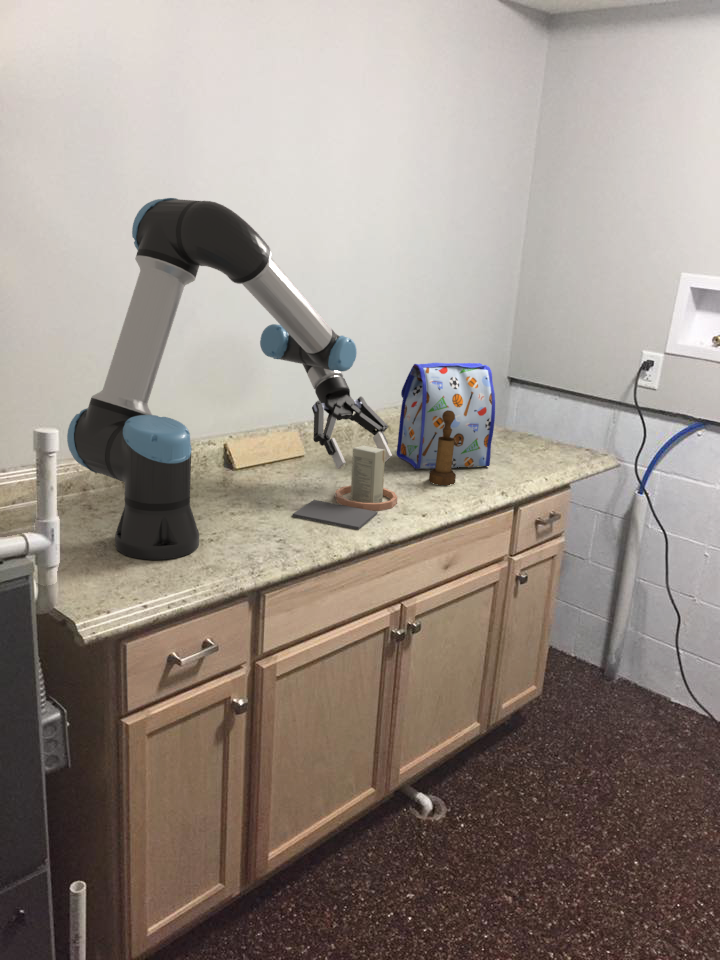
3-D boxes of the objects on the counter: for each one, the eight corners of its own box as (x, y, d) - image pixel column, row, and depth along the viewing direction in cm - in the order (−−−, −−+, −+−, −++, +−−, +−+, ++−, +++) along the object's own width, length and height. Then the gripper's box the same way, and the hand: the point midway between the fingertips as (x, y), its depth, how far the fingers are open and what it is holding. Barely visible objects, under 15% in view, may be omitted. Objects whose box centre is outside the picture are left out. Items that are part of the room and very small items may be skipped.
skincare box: (383, 501, 190) (387, 449, 186) (372, 506, 186) (376, 453, 183) (359, 495, 193) (363, 443, 189) (348, 499, 189) (352, 447, 186)
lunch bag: (462, 451, 237) (473, 357, 229) (494, 468, 223) (506, 368, 215) (390, 455, 228) (398, 357, 220) (418, 473, 214) (428, 368, 206)
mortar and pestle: (453, 487, 204) (461, 415, 199) (427, 484, 205) (434, 412, 200) (456, 480, 210) (463, 409, 205) (430, 476, 211) (437, 406, 206)
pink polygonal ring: (384, 514, 181) (384, 508, 181) (326, 503, 186) (326, 496, 185) (403, 497, 193) (404, 491, 193) (349, 487, 198) (349, 481, 197)
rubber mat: (358, 529, 171) (359, 527, 171) (292, 516, 176) (292, 513, 176) (377, 514, 181) (377, 511, 181) (313, 502, 186) (314, 499, 186)
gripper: (362, 389, 206) (397, 463, 200) (277, 396, 191) (313, 477, 184) (378, 371, 201) (414, 447, 194) (292, 378, 185) (329, 460, 179)
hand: (365, 462), depth 189 cm, fingers open, 13 cm apart
